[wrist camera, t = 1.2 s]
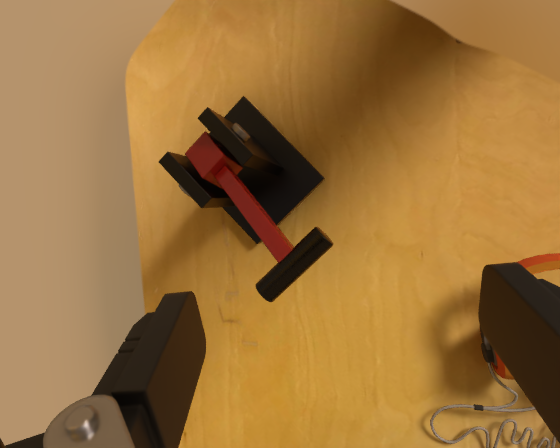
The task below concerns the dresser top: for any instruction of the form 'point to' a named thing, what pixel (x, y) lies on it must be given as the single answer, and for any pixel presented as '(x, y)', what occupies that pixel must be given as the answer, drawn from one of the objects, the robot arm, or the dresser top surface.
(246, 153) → the switch bracket
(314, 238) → the switch lever
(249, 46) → the dresser top surface
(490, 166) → the dresser top surface
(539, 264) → the headphones
